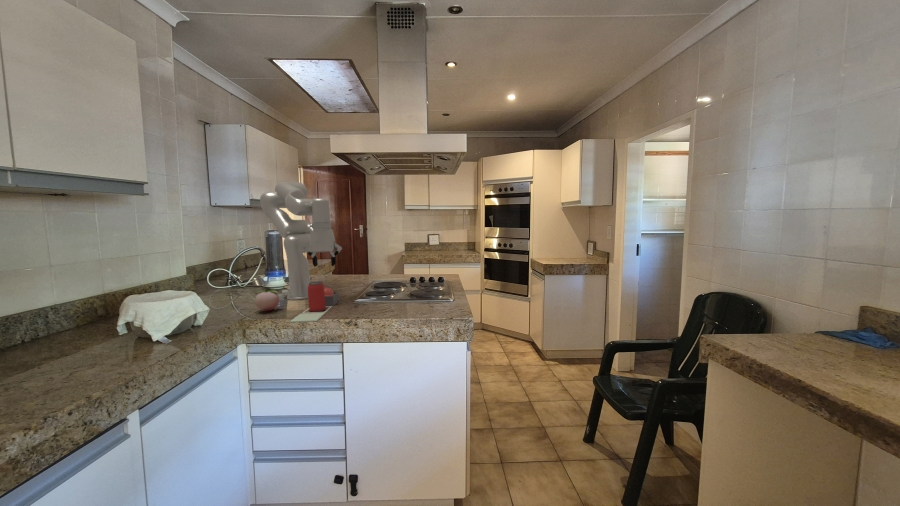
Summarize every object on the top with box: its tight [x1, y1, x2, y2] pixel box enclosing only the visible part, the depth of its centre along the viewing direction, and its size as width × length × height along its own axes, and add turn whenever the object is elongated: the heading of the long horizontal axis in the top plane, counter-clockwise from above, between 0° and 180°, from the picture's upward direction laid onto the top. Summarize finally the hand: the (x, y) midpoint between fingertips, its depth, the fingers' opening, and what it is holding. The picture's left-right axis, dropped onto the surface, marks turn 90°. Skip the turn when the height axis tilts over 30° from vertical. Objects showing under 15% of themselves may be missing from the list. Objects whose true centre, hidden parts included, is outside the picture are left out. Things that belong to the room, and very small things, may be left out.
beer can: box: [307, 281, 327, 312], centre depth 142 cm, size 7×7×12 cm
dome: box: [324, 286, 334, 296], centre depth 152 cm, size 6×6×6 cm
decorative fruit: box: [254, 287, 281, 312], centre depth 142 cm, size 9×8×10 cm
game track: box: [289, 291, 339, 323], centre depth 142 cm, size 10×30×4 cm, turn 3°
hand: (324, 265), depth 151 cm, fingers open, 7 cm apart
